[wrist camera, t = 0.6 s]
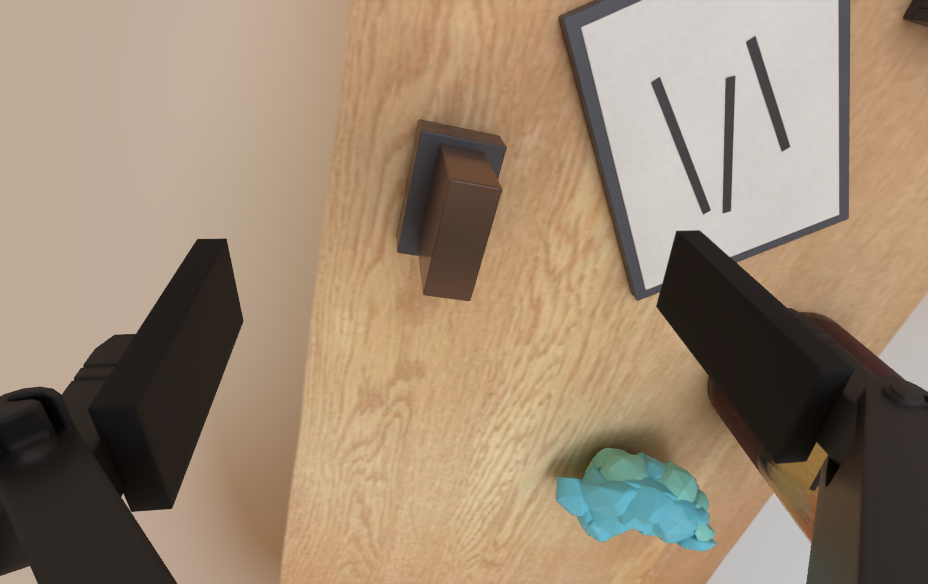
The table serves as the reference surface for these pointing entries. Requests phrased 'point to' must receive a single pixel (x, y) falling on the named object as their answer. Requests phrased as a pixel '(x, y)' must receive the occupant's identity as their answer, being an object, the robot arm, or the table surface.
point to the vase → (799, 476)
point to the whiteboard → (714, 121)
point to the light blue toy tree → (638, 500)
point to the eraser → (450, 206)
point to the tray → (918, 12)
